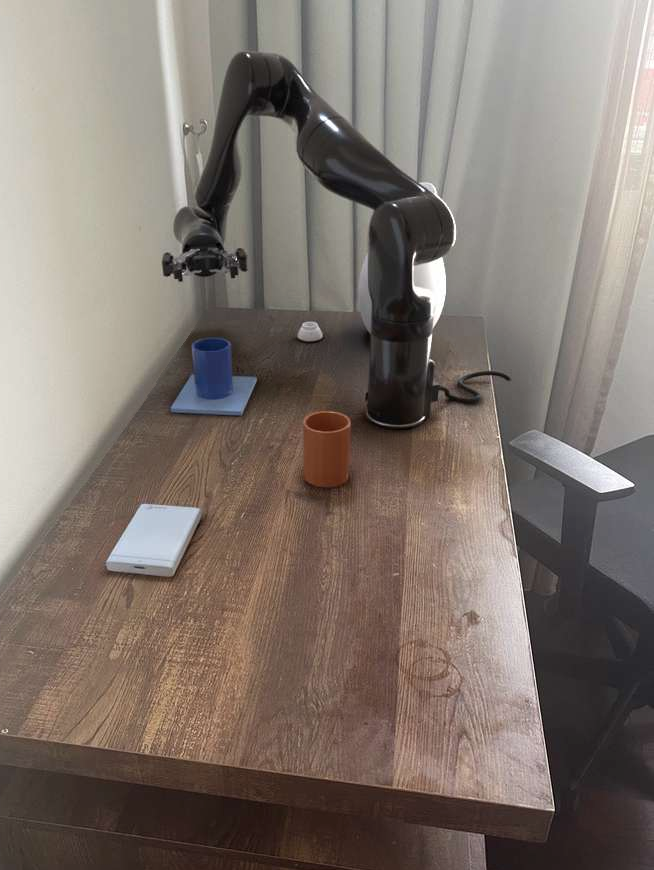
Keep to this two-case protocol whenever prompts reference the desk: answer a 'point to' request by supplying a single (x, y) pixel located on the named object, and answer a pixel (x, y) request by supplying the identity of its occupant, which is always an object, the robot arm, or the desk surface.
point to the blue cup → (212, 368)
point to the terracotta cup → (326, 448)
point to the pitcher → (423, 276)
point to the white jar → (310, 332)
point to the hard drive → (155, 540)
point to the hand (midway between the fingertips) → (206, 273)
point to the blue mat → (224, 406)
